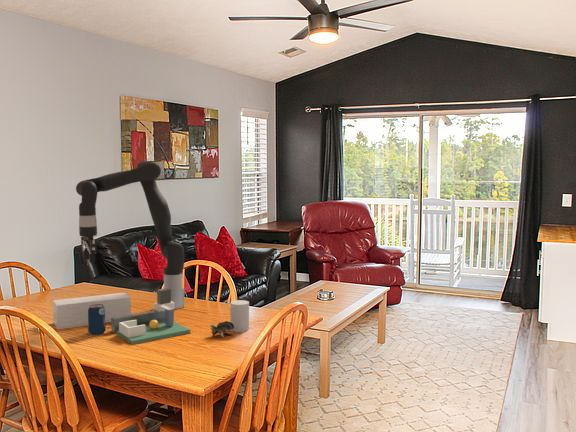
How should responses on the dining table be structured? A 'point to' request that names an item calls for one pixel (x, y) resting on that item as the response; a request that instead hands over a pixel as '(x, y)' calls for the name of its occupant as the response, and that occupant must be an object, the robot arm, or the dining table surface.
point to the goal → (131, 328)
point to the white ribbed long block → (77, 308)
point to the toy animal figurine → (222, 328)
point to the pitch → (157, 333)
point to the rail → (139, 319)
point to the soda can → (96, 319)
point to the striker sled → (165, 305)
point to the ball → (154, 324)
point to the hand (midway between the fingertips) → (89, 260)
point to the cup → (239, 315)
